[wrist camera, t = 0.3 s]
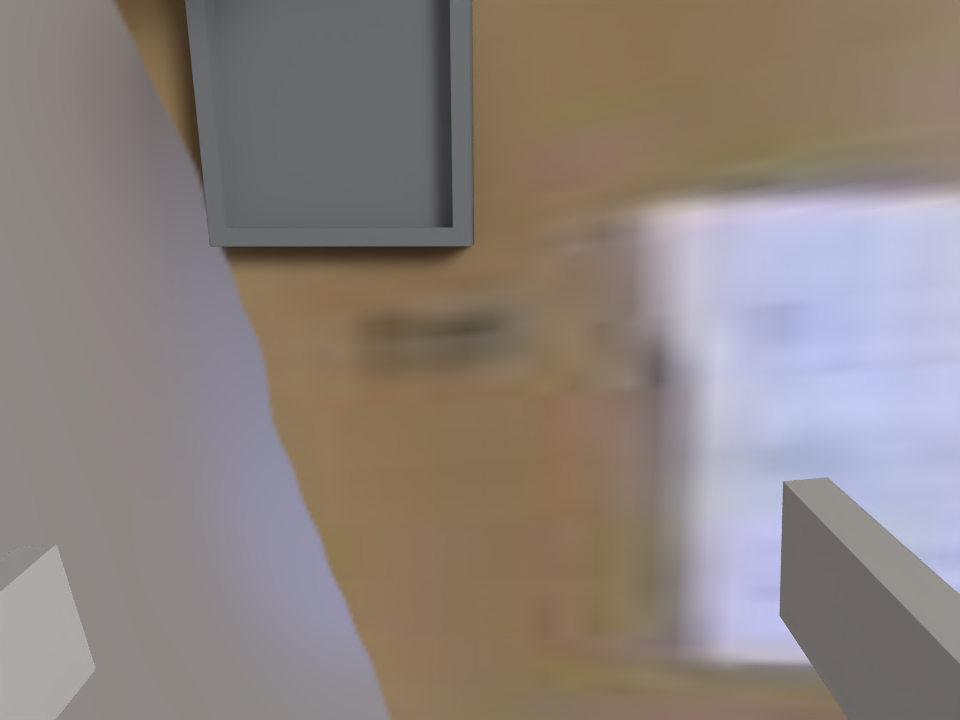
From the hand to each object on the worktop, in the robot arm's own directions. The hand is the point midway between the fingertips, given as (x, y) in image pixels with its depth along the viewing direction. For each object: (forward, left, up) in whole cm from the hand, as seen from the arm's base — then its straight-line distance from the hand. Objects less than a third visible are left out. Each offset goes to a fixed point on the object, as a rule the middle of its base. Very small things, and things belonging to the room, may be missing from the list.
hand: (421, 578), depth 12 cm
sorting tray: (-12, -8, -27) cm, 31 cm away
